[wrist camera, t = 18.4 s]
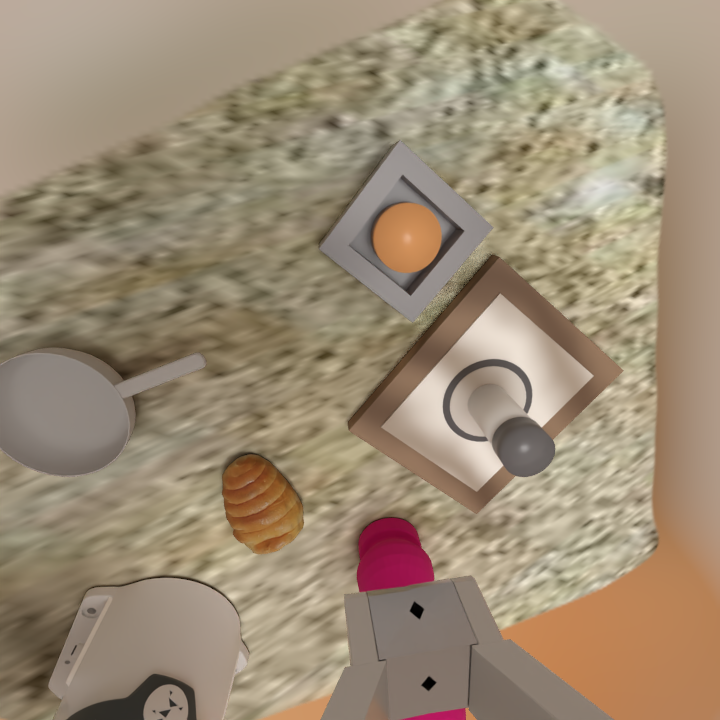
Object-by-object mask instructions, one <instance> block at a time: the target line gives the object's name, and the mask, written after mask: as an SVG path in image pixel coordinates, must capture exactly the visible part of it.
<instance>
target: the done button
mask: <svg viewBox="0 0 720 720" xmlns="http://www.w3.org/2000/svg"><path fill="white" fill-rule="evenodd" d="M441 240H442V233H441V227H440V224H439V222H438V220H437V218H436V216H435V215H434V214H433V213H432V212H431V211H430V210H429V209H428V208H426V207H424V206H422V205H420V204H416V203H408V202H399V203H395V204H392V205H390V206H388V207H386V208H385V209H383V210H382V211H381V212H380V213H379V215H378V216H377V217H376V219H375V221H374V223H373V226H372V230H371V243H372V247H373V249H374V252H375V253H376V255H377V256H378V257H379V259H380V260H381V261H382V262H383V263H384V264H385V265H386V266H387V267H389V268H390V269H392V270H394V271H397V272H401V273H412V272H416V271H419V270H421V269H423V268H425V267H426V266H428V265H429V264H430V263H431V262H432V261H433V260H434V258H435V257H436V255H437V253H438V251H439V249H440V245H441Z"/></svg>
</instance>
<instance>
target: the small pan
mask: <svg viewBox="0 0 720 720" xmlns="http://www.w3.org/2000/svg"><path fill="white" fill-rule="evenodd" d="M206 364H207V363H206V359H205V357H204V356H203V355H202V354H201V353H193V354H191V355H188V356H186V357H183V358H181V359H178V360H176V361H173V362H170V363H168V364H165V365H163V366H160V367H158V368H155V369H153V370H150V371H147V372H145V373H142V374H140V375H137V376H135V377H132V378H130V379H127V380H125V381H124V380H123V379H122V377H121V376H120V375H119V374H118V373H117V372H116V371H115V370H114V369H113V368H112V367H111V366H109V365H108V364H106V363H105V362H103V361H102V360H100V359H98V358H96V357H94V356H92V355H90V354H87V353H84V352H81V351H77V350H71V349H66V348H42V349H36V350H33V351H29V352H26V353H23V354H20V355H17V356H15V357H13V358H10V359H8V360H7V361H5V362H3V363H1V364H0V449H1V450H2V451H3V452H4V453H5V454H6V455H8V456H9V457H10V458H12V459H13V460H14V461H16V462H18V463H20V464H21V465H23V466H25V467H27V468H30V469H32V470H35V471H37V472H41V473H44V474H48V475H54V476H62V477H75V476H82V475H87V474H91V473H94V472H97V471H99V470H101V469H103V468H105V467H107V466H108V465H110V464H111V463H112V462H113V461H115V460H116V459H117V457H118V456H119V455H120V454H121V453H122V451H123V450H124V448H125V446H126V445H127V443H128V441H129V439H130V437H131V435H132V432H133V429H134V426H135V417H136V413H135V405H134V400H133V397H132V395H135V394H137V393H140V392H143V391H145V390H148V389H150V388H153V387H155V386H158V385H161V384H163V383H166V382H168V381H171V380H174V379H176V378H179V377H181V376H184V375H187V374H189V373H192V372H194V371H197V370H199V369H202V368H204V367H205V366H206Z"/></svg>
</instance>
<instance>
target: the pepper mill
mask: <svg viewBox="0 0 720 720" xmlns="http://www.w3.org/2000/svg"><path fill="white" fill-rule="evenodd" d="M358 546H359V555H360V563H359V566H358V570H357V582H358V587H359V591H360V592H367V591H372V590H380V589H389V588H397V587H405V586H408V585H413V584H419V583H425V582H431V581H434V572H433V567H432V563H431V560H430V558H429V556H428V555H427V554H426V552H425V551H424V550H423V549H422V548H421V544H420V540H419V537H418V533H417V531H416V529H415V528H414V527H413V526H412V525H411V524H410V523H409V522H407V521H405V520H402V519H399V518H384V519H380V520H378V521H375V522H373V523H371V524H370V525H369V526H367V527H366V528H365V530H364V531H363V532H362V534H361V536H360V538H359V544H358ZM401 720H466V712H465V708H462V709H455V710H448V711H442V712H435V713H428V714H424V715H419V716H415V717H410V718H406V719H401Z"/></svg>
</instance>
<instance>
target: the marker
mask: <svg viewBox="0 0 720 720" xmlns="http://www.w3.org/2000/svg"><path fill="white" fill-rule="evenodd" d="M468 410H469V413H470V414H471V416H472V417H473V419H474V420H475V422H476V423H477V425H478V426H479V428H480V429H481V430H482V432H483V433H484V435H485V436H486V438H487V439H488V441H489V442H490V444H491V445H492V447H493V450H494V452H495V454H496V455H497V457H498V458H499V459H500V461H501V462H502V464H503V465H504V467H505V468H506V470H507V471H508V472H509V473H511V474H513V475H515V476H519V477H528V476H533V475H535V474H538V473H540V472H541V471H543V470H544V469H545V468H546V467H547V466H548V465H549V464H550V463H551V461H552V459H553V457H554V454H555V444H554V442H553V440H552V438H551V437H550V436H549V435H548V434H547V433H546V432H545V431H544V430H543V429H542V428H541V426H540V425H539V424H538V423H537V422H536V421H534V420H533V419H531V418H530V417H529V416H528V415H527V413H526V412H525V411H524V410H523V409H522V408H521V407H520V406H519V405H518V404H517V403H516V402H515V401H514V400H513V398H512V397H511V396H510V395H509V394H508V393H507V392H506V391H505V390H504V389H503V388H502V387H500V386H498V385H495V384H487V385H483V386H481V387H479V388H477V389H476V390H475V391H474V392H473V393H472V394H471V396H470V398H469V400H468Z"/></svg>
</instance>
